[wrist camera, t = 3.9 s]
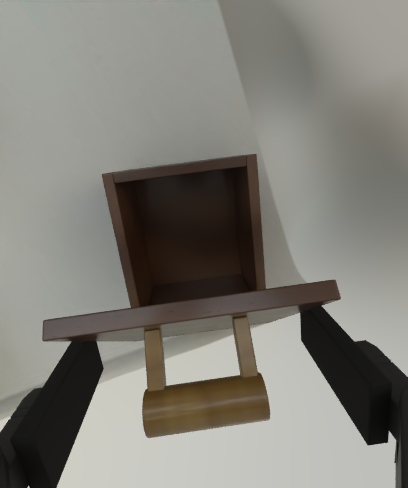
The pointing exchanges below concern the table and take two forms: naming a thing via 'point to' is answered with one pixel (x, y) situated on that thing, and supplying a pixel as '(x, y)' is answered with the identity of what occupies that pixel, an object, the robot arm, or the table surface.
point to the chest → (188, 229)
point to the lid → (193, 321)
